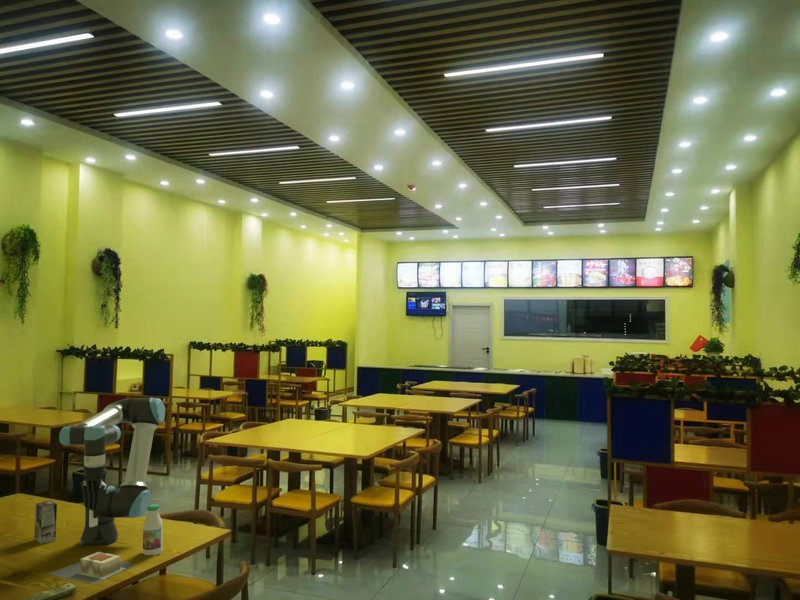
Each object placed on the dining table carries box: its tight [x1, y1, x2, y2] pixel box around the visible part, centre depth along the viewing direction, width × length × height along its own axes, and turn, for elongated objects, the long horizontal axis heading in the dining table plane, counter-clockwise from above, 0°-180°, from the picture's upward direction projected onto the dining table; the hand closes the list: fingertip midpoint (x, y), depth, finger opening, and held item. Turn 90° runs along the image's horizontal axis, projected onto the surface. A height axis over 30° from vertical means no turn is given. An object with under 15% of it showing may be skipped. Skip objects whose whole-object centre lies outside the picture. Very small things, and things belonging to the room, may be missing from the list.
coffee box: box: [34, 500, 58, 544], centre depth 268 cm, size 9×6×16 cm
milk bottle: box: [142, 503, 164, 556], centre depth 252 cm, size 8×8×20 cm
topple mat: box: [49, 560, 138, 585], centre depth 233 cm, size 24×20×1 cm
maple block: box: [80, 551, 121, 577], centre depth 231 cm, size 5×8×12 cm
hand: (93, 525), depth 234 cm, fingers closed
